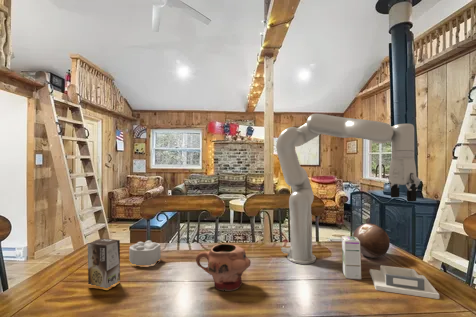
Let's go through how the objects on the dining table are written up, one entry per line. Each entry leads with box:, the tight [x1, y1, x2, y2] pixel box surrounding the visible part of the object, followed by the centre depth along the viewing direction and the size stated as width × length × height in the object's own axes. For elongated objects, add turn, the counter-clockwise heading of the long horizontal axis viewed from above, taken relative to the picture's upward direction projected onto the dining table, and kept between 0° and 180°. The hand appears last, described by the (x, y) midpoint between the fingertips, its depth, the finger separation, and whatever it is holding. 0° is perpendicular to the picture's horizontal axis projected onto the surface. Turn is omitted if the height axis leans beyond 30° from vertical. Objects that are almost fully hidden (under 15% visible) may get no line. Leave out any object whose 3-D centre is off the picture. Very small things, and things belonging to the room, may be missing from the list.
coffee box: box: [87, 237, 121, 288], centre depth 92 cm, size 9×6×16 cm
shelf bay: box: [369, 264, 440, 300], centre depth 90 cm, size 18×14×5 cm
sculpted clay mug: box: [195, 243, 252, 292], centre depth 91 cm, size 20×12×14 cm, turn 88°
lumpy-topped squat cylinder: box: [128, 240, 162, 265], centre depth 113 cm, size 10×13×9 cm
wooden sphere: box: [352, 222, 391, 259], centre depth 117 cm, size 15×15×15 cm
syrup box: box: [341, 235, 362, 280], centre depth 98 cm, size 6×6×14 cm
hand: (402, 199), depth 99 cm, fingers open, 9 cm apart
